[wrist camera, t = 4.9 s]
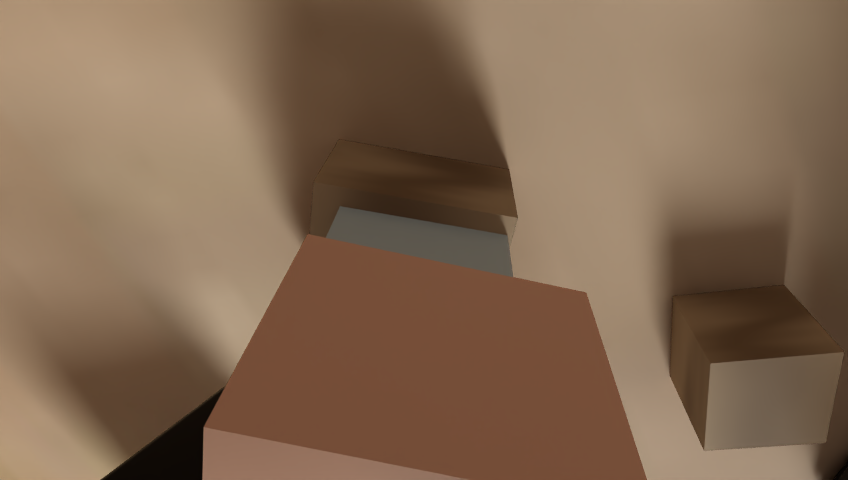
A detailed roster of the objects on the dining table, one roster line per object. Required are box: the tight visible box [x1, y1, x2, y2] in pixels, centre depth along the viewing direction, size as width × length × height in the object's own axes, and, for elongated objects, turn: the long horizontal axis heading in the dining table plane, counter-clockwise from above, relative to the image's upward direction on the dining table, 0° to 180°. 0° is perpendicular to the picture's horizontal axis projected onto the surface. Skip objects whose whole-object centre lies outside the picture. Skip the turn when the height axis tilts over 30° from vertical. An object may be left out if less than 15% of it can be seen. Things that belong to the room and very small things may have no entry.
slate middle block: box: [326, 206, 513, 277], centre depth 16 cm, size 5×5×4 cm
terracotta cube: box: [202, 234, 647, 480], centre depth 8 cm, size 4×4×4 cm
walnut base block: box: [309, 139, 518, 249], centre depth 20 cm, size 6×6×4 cm
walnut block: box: [670, 285, 844, 451], centre depth 21 cm, size 4×4×4 cm
